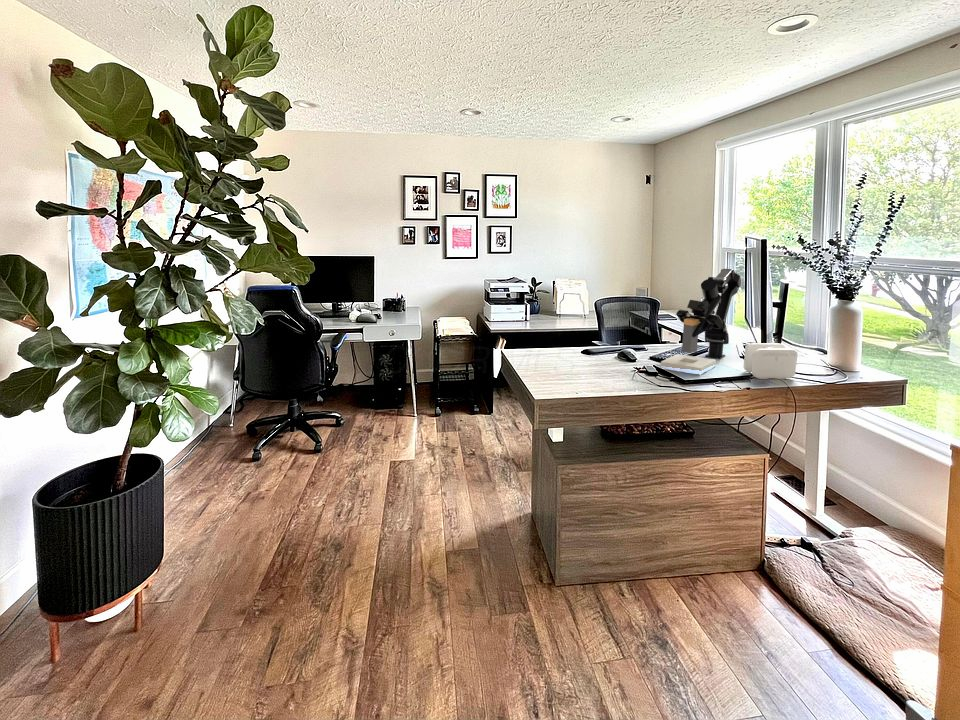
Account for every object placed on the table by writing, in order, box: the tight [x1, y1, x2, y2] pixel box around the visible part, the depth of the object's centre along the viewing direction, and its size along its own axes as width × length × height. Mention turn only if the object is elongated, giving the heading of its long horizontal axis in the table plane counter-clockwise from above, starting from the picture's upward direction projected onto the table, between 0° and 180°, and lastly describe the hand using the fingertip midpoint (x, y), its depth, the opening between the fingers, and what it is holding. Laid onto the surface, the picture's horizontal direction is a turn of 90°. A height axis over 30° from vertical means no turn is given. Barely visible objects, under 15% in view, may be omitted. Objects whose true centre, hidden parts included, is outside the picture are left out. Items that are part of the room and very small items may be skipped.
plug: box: [681, 318, 699, 354], centre depth 222 cm, size 4×4×13 cm
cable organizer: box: [743, 342, 798, 380], centre depth 211 cm, size 15×11×12 cm
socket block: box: [660, 353, 717, 371], centre depth 225 cm, size 16×16×3 cm
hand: (688, 335), depth 221 cm, fingers closed on plug, 4 cm apart
